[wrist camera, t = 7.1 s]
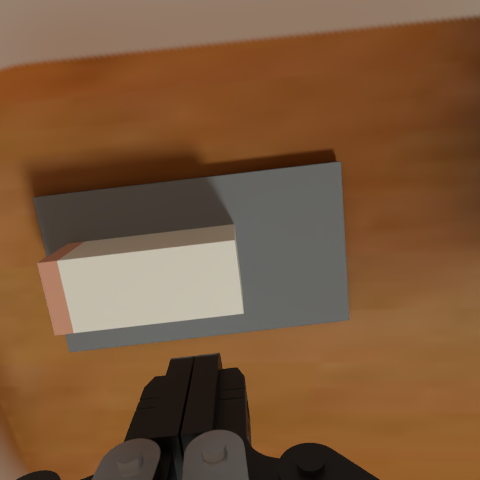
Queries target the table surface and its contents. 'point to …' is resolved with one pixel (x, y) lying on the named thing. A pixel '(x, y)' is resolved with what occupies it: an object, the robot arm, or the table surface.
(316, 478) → the robot arm
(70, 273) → the cream block
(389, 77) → the table surface
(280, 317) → the slate mat
